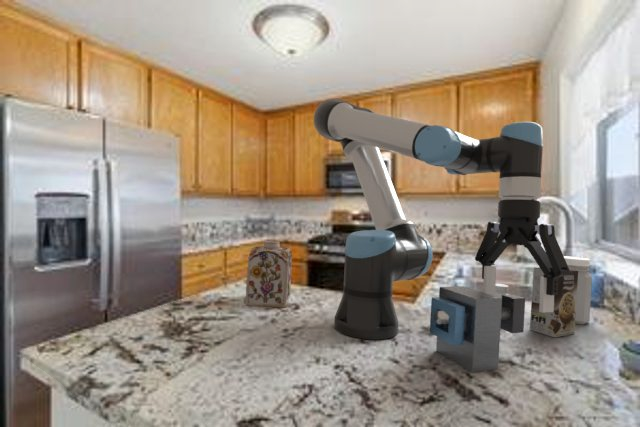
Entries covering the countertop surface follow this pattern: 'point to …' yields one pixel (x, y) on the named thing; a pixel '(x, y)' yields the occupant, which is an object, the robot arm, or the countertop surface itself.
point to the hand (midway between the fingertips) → (515, 302)
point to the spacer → (455, 321)
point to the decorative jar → (269, 275)
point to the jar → (581, 287)
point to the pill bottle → (501, 290)
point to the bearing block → (474, 329)
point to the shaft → (509, 314)
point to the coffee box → (555, 306)
